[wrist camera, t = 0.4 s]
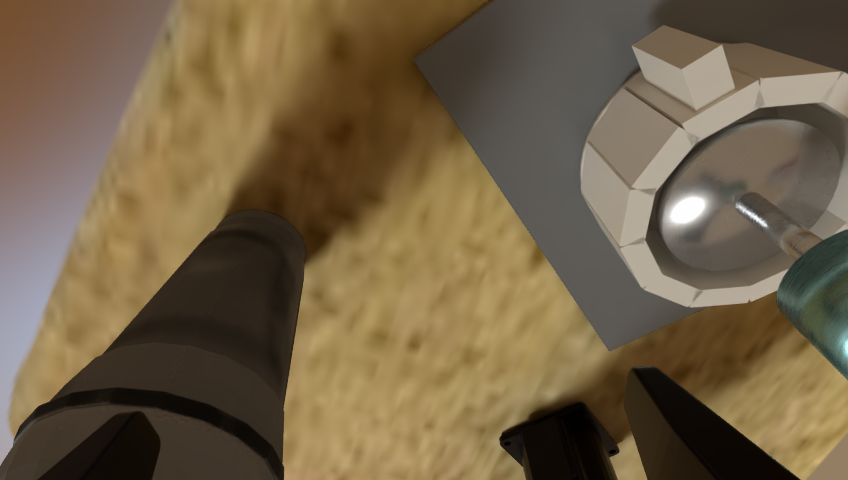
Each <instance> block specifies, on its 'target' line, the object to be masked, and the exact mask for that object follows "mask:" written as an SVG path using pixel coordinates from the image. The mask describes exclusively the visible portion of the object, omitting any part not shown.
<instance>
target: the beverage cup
mask: <svg viewBox="0 0 848 480" xmlns="http://www.w3.org/2000/svg"><path fill="white" fill-rule="evenodd" d="M305 257H306V248H305V245H304V242H303V239H302V237H301V235H300V234H299V233H298V231H297V230H296V229H295V227H294V226H293V225H291V224H290V223H289V222H287V221H286V220H285V219H283V218H282V217H279V216H277V215H275V214H272V213H270V212H266V211H259V210H245V211H238V212H236V213H234V214H231V215H229V216H227V217H225V219H224V220H223V221H222V222H221V223H220V224H219V225H218V226H217V227H216V229H215V230H214V231H212V232H210V233H209V234H208V235H207V237H206V238H205V239H204V240H203V241H202V242H201V243H200V244H199V245H198V246H197V247H196V249H195V250H194V251H193V252H192V253H191V254H190V255H189V257H188V258H187V259H186V260H185V261H184V262H183V263H182V265H181V266H180V267H179V268H178V269H177V270H176V271H175V273H174V274H173V275H172V276H171V277H170V278H169V279H168V280H167V282H166V283H165V284H164V285H163V286H162V287H161V288H160V290H159V291H158V292H157V293H156V294H155V295H154V296H153V298H152V299H151V300H150V301H149V302H148V303H147V304H146V305H145V307H144V308H143V309H142V310H141V311H140V312H139V313H138V315H137V316H136V317H135V318H134V319H133V320H132V321H131V323H130V324H129V325H128V326H127V327H126V328H125V329H124V331H123V332H122V333H121V334H120V335H119V336H118V337H117V338H116V340H115V341H114V342H113V343H112V344H111V345H110V346H109V348H108V349H107V350H106V351H105V352H104V353H103V354H102V355H101V356H98V357H96V358H95V359H93V360H92V361H91V362H90V363H89V364H88V365H87V366H86V367H85V368H83V369H82V370H81V371H80V372H79V373H78V374H77V375H76V376H75V377H73V378H72V379H71V380H70V381H69V382H68V383H67V384H66V385H65V386H64V387H63V388H62V389H61V390H60V391H59V392H58V393H57V394H56V395H55V396H54V397H53V398H52V399H51V400H50V402H47V403H45V404H42V405H40V406H38V407H37V408H36V409H35V410H34V411H33V413H32V414H31V415H30V416H29V417H28V418H27V419H26V420H25V421H24V422H23V423H22V424H21V425H20V427H19V429H18V432H17V434H16V436H15V438H14V443H13V447H12V449H11V450H10V452H9V453H8V455H7V456H6V458H5V459H4V461H3V462H2V464H1V466H0V480H37V479H38V478H39V477H41V476H42V475H43V474H44V473H45V472H47V471H48V470H49V469H50V468H51V467H53V466H54V465H55V464H56V463H57V462H59V461H60V460H61V459H62V458H63V457H65V456H66V455H67V454H68V453H69V452H71V451H72V450H73V449H74V448H75V447H76V446H78V445H79V444H80V443H81V442H82V441H84V440H85V439H86V438H87V437H88V436H90V435H91V434H92V433H93V432H94V431H96V430H97V429H98V428H99V427H100V426H102V425H103V424H104V423H105V422H106V421H108V420H109V419H110V418H111V417H112V416H114V415H115V414H117V413H120V412H127V411H142V412H143V413H144V414H145V415H146V416H147V418H148V419H149V421H150V422H151V424H152V425H153V427H154V428H155V430H156V431H157V433H158V434H159V436H160V440H161V448H160V453H159V456H158V460H157V464H156V467H155V471H154V475H153V478H152V480H284V466H283V464H282V461H283V433H284V410H283V408H284V402H285V395H286V389H287V383H288V376H289V370H290V364H291V357H292V351H293V344H294V338H295V332H296V325H297V319H298V313H299V306H300V300H301V294H302V287H303V281H304V263H305Z"/></svg>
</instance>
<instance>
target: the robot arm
mask: <svg viewBox="0 0 848 480" xmlns="http://www.w3.org/2000/svg"><path fill="white" fill-rule="evenodd" d="M623 401H624V408H625V411H626V414H627V417H628V421H629V424H630V427H631V430H632V433H633V436H634V439H635V442H636V445H637V448H638V452H639V455H640V458H641V461H642V464H643V467H644V470H645V473H646V476H647V479H648V480H800V479H799V478H798V477H796V476H795V475H794V474H793V473H791V472H790V471H789V470H788V469H786V468H785V467H784V466H782V465H781V464H780V463H779V462H777V461H776V460H775V459H773V458H772V457H771V456H770V455H768V454H767V453H766V452H764V451H763V450H762V449H761V448H759V447H758V446H757V445H756V444H754V443H753V442H752V441H750V440H749V439H748V438H747V437H745V436H744V435H743V434H741V433H740V432H739V431H738V430H736V429H735V428H734V427H732V426H731V425H730V424H729V423H727V422H726V421H725V420H724V419H722V418H721V417H720V416H718V415H717V414H716V413H715V412H713V411H712V410H711V409H709V408H708V407H707V406H706V405H704V404H703V403H702V402H700V401H699V400H698V399H697V398H695V397H694V396H693V395H692V394H690V393H689V392H688V391H686V390H685V389H684V388H683V387H681V386H680V385H679V384H677V383H676V382H675V381H674V380H672V379H671V378H670V377H668V376H667V375H666V374H665V373H663V372H662V371H661V370H660V369H658V368H656V367H654V366H640V367H633V368H631V369H630V370H629V373H628V377H627V382H626V387H625V391H624V397H623ZM499 440H500V445H501V446H502V447H503V448H504V449H505V450H506V451H507V452H508V453H509V454H510V455H511V456H512V457H513V458H514V459H515V460H516V461H517V462H518V463H519V464H520V465H521V466H522V467H523V468H524V473H525V477H526V480H618V479H617V476H616V474H615V471H614V468H613V466H612V463H611V461H610V458H609V457H611V456H614V455H616V454H618V453H619V448H618V446H617V444H616V442H615V441H614V440H613V439H612V437H611V436H610V435H609V434H608V432H607V431H606V430H605V428H604V427H603V426H602V425H601V423H600V422H599V421H598V420H597V418H596V417H595V416H594V415H593V413H592V412H591V411H590V410H589V408H588V407H587V406H586V405H585V404H583V403H578V404H575V405H572V406H570V407H568V408H565V409H563V410H561V411H558V412H556V413H554V414H551V415H549V416H546V417H544V418H542V419H539V420H537V421H535V422H532V423H530V424H528V425H525V426H523V427H520V428H518V429H516V430H513V431H511V432H509V433H506V434H504V435H502V436H501V437H500V438H499ZM160 448H161V440H160V436H159V434H158V433H157V431H156V430H155V428H154V427H153V425H152V424H151V422H150V421H149V419H148V418H147V416H146V415H145V414H144V413H143V412H142V411H127V412H120V413H117V414H115V415H114V416H112V417H111V418H110V419H109V420H108V421H106V422H105V423H104V424H103V425H102V426H100V427H99V428H98V429H97V430H96V431H94V432H93V433H92V434H91V435H90V436H88V437H87V438H86V439H85V440H84V441H82V442H81V443H80V444H79V445H78V446H76V447H75V448H74V449H73V450H72V451H71V452H69V453H68V454H67V455H66V456H65V457H63V458H62V459H61V460H60V461H59V462H57V463H56V464H55V465H54V466H53V467H51V468H50V469H49V470H48V471H47V472H45V473H44V474H43V475H42V476H41V477H39V478H38V479H37V480H152V478H153V475H154V471H155V467H156V464H157V460H158V456H159V453H160Z"/></svg>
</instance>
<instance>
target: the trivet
mask: <svg viewBox="0 0 848 480" xmlns="http://www.w3.org/2000/svg"><path fill="white" fill-rule="evenodd" d="M663 25H665V26H668V27H671V28H674V29H677V30H680V31H683V32H686V33H689V34H692V35H695V36H698V37H701V38H704V39H707V40H710V41H713V42H716V43H731V44H738V43H751V44H754V45H757V46H760V47H764V48H767V49H770V50H774V51H777V52H780V53H783V54H787V55H790V56H793V57H796V58H800V59H803V60H806V61H810V62H813V63H816V64H819V65H823V66H826V67H829V68H833V69H836V70H839V71H842V72H845V73H847V74H848V0H491V1H489V2H488V3H487V4H485V5H484V6H483V7H481V8H480V9H479V10H477V11H476V12H475V13H473V14H472V15H471V16H469V17H468V18H467V19H465V20H464V21H463V22H461V23H460V24H458V25H457V26H456V27H454V28H453V29H452V30H450V31H449V32H448V33H446V34H445V35H444V36H442V37H441V38H440V39H438V40H437V41H436V42H434V43H433V44H431V45H430V46H429V47H427V48H426V49H425V50H423V51H422V52H421V53H419V54H418V55H417V56H415V57H414V62H415V63H416V65H417V66H418V68H419V69H420V71H421V72H422V74H423V75H424V77H425V78H426V80H427V81H428V83H429V84H430V86H431V87H432V89H433V90H434V92H435V93H436V95H437V96H438V98H439V99H440V101H441V102H442V104H443V105H444V106H445V108H446V109H447V111H448V112H449V114H450V115H451V117H452V118H453V120H454V121H455V123H456V124H457V126H458V127H459V129H460V130H461V132H462V133H463V135H464V136H465V138H466V139H467V141H468V142H469V144H470V145H471V147H472V148H473V150H474V151H475V153H476V154H477V156H478V157H479V158H480V160H481V161H482V163H483V164H484V166H485V167H486V169H487V170H488V172H489V173H490V175H491V176H492V178H493V179H494V181H495V182H496V184H497V185H498V187H499V188H500V190H501V191H502V193H503V194H504V196H505V197H506V199H507V200H508V202H509V203H510V205H511V206H512V208H513V209H514V210H515V212H516V213H517V215H518V216H519V218H520V219H521V221H522V222H523V224H524V225H525V227H526V228H527V230H528V231H529V233H530V234H531V236H532V237H533V239H534V240H535V242H536V243H537V245H538V246H539V248H540V249H541V251H542V252H543V254H544V255H545V257H546V258H547V259H548V261H549V262H550V264H551V265H552V267H553V268H554V270H555V271H556V273H557V274H558V276H559V277H560V279H561V280H562V282H563V283H564V285H565V286H566V288H567V289H568V291H569V292H570V294H571V295H572V297H573V298H574V300H575V301H576V303H577V304H578V306H579V307H580V309H581V310H582V311H583V313H584V314H585V316H586V317H587V319H588V320H589V322H590V323H591V325H592V326H593V328H594V329H595V331H596V332H597V334H598V335H599V337H600V338H601V340H602V341H603V343H604V344H605V346H606V347H607V349H608V350H609V351H611V350H613V349H616V348H618V347H620V346H622V345H624V344H627V343H629V342H631V341H633V340H636V339H638V338H640V337H642V336H645V335H647V334H649V333H651V332H653V331H656V330H658V329H660V328H662V327H665V326H667V325H669V324H671V323H673V322H676V321H678V320H680V319H682V318H685V317H687V316H689V315H691V314H693V313H696V312H698V311H700V310H702V309H705V308H707V307H709V306H705V307H693V308H690V306H688V307H686V306H683V305H681V304H678V303H676V302H673V301H671V300H668V299H666V298H663V297H661V296H658V295H656V294H653V293H651V292H648V291H646V290H643V288H641V286H640V285H639V283H638V282H637V280H636V279H635V278H634V276H633V275H632V273H631V272H630V270H629V269H628V267H627V266H626V264H625V263H624V261H623V260H622V258H621V257H620V255H619V254H618V252H617V251H616V249H615V248H614V247H613V245H612V244H611V242H610V241H609V239H608V238H607V236H606V235H605V233H604V232H603V230H602V229H601V227H600V225H599V224H598V222H597V220H596V218H595V217H594V215H593V213H592V211H591V210H590V208H589V207H588V205H587V203H586V201H585V199H584V197H583V195H582V194H581V190H580V189H581V186H580V178H579V164H580V157H581V151H582V147H583V144H584V141H585V138H586V135H587V133H588V131H589V129H590V126H591V124H592V122H593V121H594V119H595V117H596V116H597V114H598V112H599V111H600V109H601V108H602V107H603V105H604V104H605V103H606V101H607V100H608V99H609V97H610V96H611V95H612V94H613V93H614V92H615V91H616V90H617V89H618V88H619V87H620V86H621V85H622V84H623V83H624V82H625V81H626V80H628V79H629V78H630V77H631V76H632V75H633V74H635V73H636V72H638V71H639V70H641V68H640V65H639V63H638V60H637V58H636V55H635V53H634V51H633V48H632V45H633V44H635V43H637V42H638V41H640V40H641V39H643V38H644V37H646V36H647V35H649V34H651V33H652V32H654V31H655V30H657V29H658V28H660V27H661V26H663Z"/></svg>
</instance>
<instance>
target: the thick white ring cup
mask: <svg viewBox="0 0 848 480" xmlns="http://www.w3.org/2000/svg"><path fill="white" fill-rule="evenodd" d="M632 48H633V51H634V53H635V55H636V58H637V60H638V63H639V65H640V68H641V70H639V71H638V72H636V73H635V74H633V75H632V76H631V77H630V78H629V79H628V80H626V81H625V82H624V83H623V84H622V85H621V86H620V87H619V88H618V89H617V90H616V91H615V92H614V93H613V94H612V95H611V96H610V97H609V99H608V100H607V101H606V103H605V104H604V105H603V107H602V108H601V109H600V111H599V112H598V114H597V116H596V117H595V119H594V121H593V122H592V124H591V126H590V129H589V131H588V133H587V135H586V138H585V141H584V144H583V147H582V151H581V157H580V164H579V178H580V186H581V189H580V190H581V194H582V195H583V197H584V199H585V201H586V203H587V205H588V207H589V208H590V210H591V211H592V213H593V215H594V217H595V218H596V220H597V222H598V224H599V225H600V227H601V229H602V230H603V232H604V233H605V235H606V236H607V238H608V239H609V241H610V242H611V244H612V245H613V247H614V248H615V249H616V251H617V252H618V254H619V255H620V257H621V258H622V260H623V261H624V263H625V264H626V266H627V267H628V269H629V270H630V272H631V273H632V275H633V276H634V278H635V279H636V280H637V282H638V283H639V285H640V286H641V288H643V290H646V291H648V292H651V293H653V294H656V295H658V296H661V297H663V298H666V299H668V300H671V301H673V302H676V303H678V304H681V305H683V306H686V307H688V306H690V308H693V307H705V306H717V305H729V304H740V303H748V300H750V302H752V301H754V300H757V299H759V298H761V297H763V296H766V295H768V294H770V293H772V292H775V291H777V290H778V287H779V285H780V282H781V280H782V278H783V277H784V275H785V274H786V272H787V271H788V269H789V268H790V267H791V266H792V265H793V263H794V262H795V261H796V260H794V259H793V258H792V257H791V256H790V255H788V254H787V253H786V252H785V251H781V252H779V253H778V254H776V255H774V256H772V257H770V258H768V259H766V260H763V261H761V262H759V263H756V264H753V265H750V266H747V267H743V268H738V269H733V270H725V271H711V270H703V269H698V268H695V267H692V266H689V265H687V264H685V263H684V262H682V261H681V260H679V259H678V258H677V257H676V256H675V255H674V254H673V253H672V252H671V251H670V250H669V248H668V247H667V246H666V245H665V244H664V243H663V241H662V239H661V238H660V236H659V233H658V230H657V226H656V220H655V212H656V205H657V201H658V197H659V194H660V192H661V189H662V187H663V185H664V183H665V181H666V180H667V178H668V176H669V175H670V174H671V173H672V172H673V170H674V169H675V168H676V167H677V166H678V164H679V163H680V162H681V161H682V159H683V158H684V157H685V156H686V155H687V153H688V152H689V151H691V150H692V149H693V148H694V147H695V146H696V145H698V144H699V143H700V142H702V141H703V140H704V139H706V138H707V137H709V136H711V135H712V134H714V133H715V132H717V131H719V130H721V129H723V128H725V127H727V126H730V125H732V124H735V123H737V122H740V121H744V120H747V119H751V118H756V117H763V116H783V117H789V118H793V119H797V120H799V121H801V122H803V123H806V124H808V125H810V126H812V127H814V128H816V129H818V130H820V131H821V132H823V133H824V134H825V135H827V136H828V137H829V139H830V140H831V141H832V142H833V144H834V145H835V147H836V149H837V152H838V155H839V159H840V177H839V181H838V185H837V188H836V191H835V193H834V196H833V198H832V200H831V202H830V204H829V206H828V207H827V209H826V210H825V212H824V213H823V215H822V216H821V217H820V218H819V220H818V221H817V222H816V223H815V224H814V225H813V226H812V227H811V228H810V229H809V230H810V231H811V232H813V233H814V234H815V235H817V236H818V237H820V238H821V239H822V240H824V239H826V238H828V237H830V236H832V235H834V234H836V233H839V232H841V231H843V230H846V229H848V74H847V73H845V72H842V71H839V70H836V69H833V68H829V67H826V66H823V65H819V64H816V63H813V62H810V61H806V60H803V59H800V58H796V57H793V56H790V55H787V54H783V53H780V52H777V51H774V50H770V49H767V48H764V47H760V46H757V45H754V44H751V43H738V44H731V43H716V42H713V41H710V40H707V39H704V38H701V37H698V36H695V35H692V34H689V33H686V32H683V31H680V30H677V29H674V28H671V27H668V26H665V25H663V26H661V27H660V28H658V29H657V30H655V31H654V32H652V33H651V34H649V35H647V36H646V37H644V38H643V39H641V40H640V41H638V42H637V43H635V44H633V45H632Z"/></svg>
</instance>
